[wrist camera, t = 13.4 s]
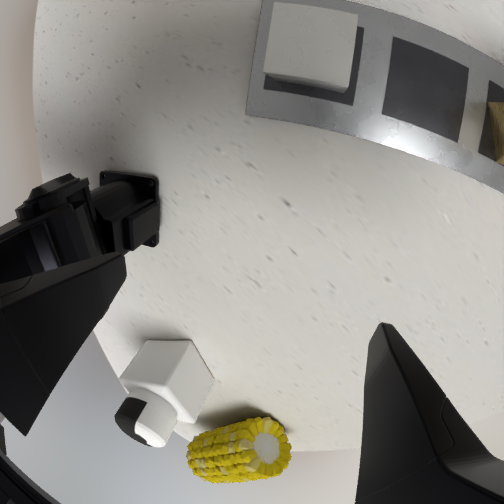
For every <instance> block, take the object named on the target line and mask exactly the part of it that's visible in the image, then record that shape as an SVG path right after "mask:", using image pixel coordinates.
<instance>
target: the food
mask: <svg viewBox="0 0 504 504" xmlns="http://www.w3.org/2000/svg"><path fill="white" fill-rule="evenodd" d="M283 433H284V428H283V427H282V426H280V425H279V423H278V422H276V421H274V420H271V418H270V417H264V418H263V419H262V418H260V417H257V418H255V419H253V418H250V419H247V420H246V421H242V422H238V423H234V424H230V425H226V427H218V428H216V429H214V430H210V431H205V432H204V433H201V434H199V436H194V438H193V442H190V443H189V445H188V446H187V447H188V449H189V451H187V455H186V457H187V459H189V460H188V465H189V467H190V468H192V470H193V473H194V475H197V476H199V477H200V478H202V479H203V480H204V481H206V480H207V481H209V482H212V483H214V482H216V483H219V482H221V483H230V482H232V483H233V482H239V483H240V482H245V481H246V482H247V481H249V480H252V481H253V480H257V479H267V478H270V477H275V476H278V475H280V474H281V473H282V471H283V469H286V468H287V466H288V462H289V461H290V459H291V454H290V450H291V448H292V447H291V445H290V443H286V442H287V441H288V438H287V436H286V434H283Z"/></svg>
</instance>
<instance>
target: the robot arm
mask: <svg viewBox="0 0 504 504" xmlns="http://www.w3.org/2000/svg"><path fill="white" fill-rule="evenodd" d="M104 175H105V177H104ZM151 181H152V182H153V185H152V184H151ZM88 185H89V180H88V178H84V179H81V180H80V178H75V177H74V176H73V175H72V174H71V173H69V174H66V175H63V176H61V177H58V178H56V179H53V180H51V181H49V182H46V183H44V184H42V185H40V186H38V187H36V188H34V189H32V191H31V193H30V196H29V198H28V199H27V200H26V201H24V202H23V204H22V205H21V206H19V207H18V208H17V209H15V212H16V215H17V218H16V219H14V220H12V221H11V222H9V223H7V224H5V225H3V226H1V227H0V423H1V422H2V421H3V419H4V418H5V417H6V418H7V420H9V422H11V423H12V425H14V426H15V427H16V428H17V429H18V430H19V431H20V432H21V433H22V434H23V435H24V436H26V435H27V434H28V432H29V430H30V428H31V427H32V425H33V423H34V421H35V420H36V418H37V416H38V414H39V412H40V410H41V409H42V407H43V406H44V404H45V402H46V401H47V399H48V397H49V396H50V394H51V392H52V390H53V389H54V387H55V386H56V384H57V382H58V381H59V379H60V378H61V376H62V375H63V373H64V371H65V370H66V368H67V367H68V365H69V363H70V362H71V361H72V359H73V358H74V356H75V355H76V353H77V352H78V350H79V349H80V347H81V346H82V344H83V343H84V342H85V340H86V339H87V337H88V336H89V334H90V333H91V332H92V330H93V329H94V327H95V326H96V325H97V323H98V322H99V321H100V320H101V319H102V318H103V316H104V315H105V313H106V312H107V311H108V309H109V306H110V304H111V303H112V301H113V299H114V298H115V296H116V294H117V293H118V291H119V289H120V288H121V286H122V284H123V283H124V281H125V279H126V276H127V272H126V263H125V257H124V255H125V254H126V253H128V252H129V251H134V250H135V249H136V248H138V247H139V246H140V245H141V244H142V245H145V246H149V247H155V246H157V245H158V242H159V239H158V231H159V203H158V180H157V178H156V177H152V176H145V175H138V174H131V173H123V172H116V171H108V170H104V171H102V172H100V187H98V188H96V189H94V190H92V191H90V190H89V186H88ZM152 240H153V241H154V243H153V242H152ZM355 501H356V502H355V504H504V461H503V460H500V459H498V458H496V457H494V456H493V455H492V454H491V453H490V452H489V451H488V450H487V449H486V447H485V446H484V445H483V444H482V442H481V441H480V440H479V438H478V437H477V436H476V435H475V433H474V432H473V431H472V430H471V429H470V427H469V426H468V425H467V423H466V422H465V421H464V419H463V418H462V417H461V416H460V414H459V413H458V411H457V410H456V409H455V407H454V406H453V405H452V403H451V402H450V400H449V399H448V398H447V397H446V395H445V393H444V392H443V390H442V389H441V388H440V386H439V385H438V384H437V382H436V381H435V379H434V378H433V377H432V375H431V374H430V373H429V371H428V370H427V369H426V367H425V366H424V365H423V363H422V362H421V361H420V359H419V358H418V357H417V355H416V354H415V353H414V352H413V350H412V349H411V348H410V346H409V345H408V344H407V343H406V341H405V340H404V339H403V337H402V336H401V335H400V334H399V332H398V331H397V330H396V329H395V327H394V326H393V325H392V324H388V323H383V322H382V323H380V324H379V325H378V327H377V329H376V330H375V332H374V334H373V336H372V338H371V340H370V342H369V346H368V357H367V366H366V375H365V384H364V411H363V431H362V446H361V458H360V468H359V477H358V485H357V492H356V499H355ZM0 504H60V503H59V502H58V501H57V500H55V499H54V498H53V497H51V496H50V495H49V494H48V493H46V492H45V491H44V490H43V489H41V488H40V487H39V486H38V485H37V484H36V483H34V482H33V481H32V480H31V479H30V478H29V477H28V476H27V475H25V474H24V473H23V472H22V471H21V470H20V469H19V468H18V467H17V466H16V465H15V464H14V463H13V462H12V461H10V459H9V458H8V457H7V456H6V446H5V436H4V427H3V426H2V425H1V424H0Z"/></svg>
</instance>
